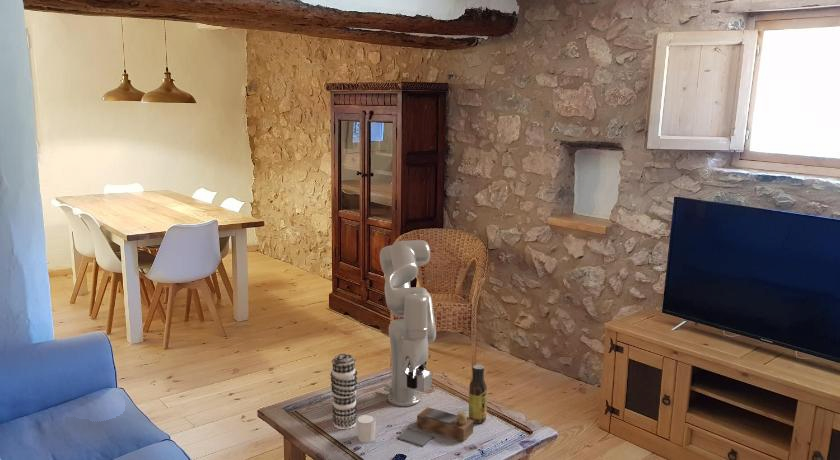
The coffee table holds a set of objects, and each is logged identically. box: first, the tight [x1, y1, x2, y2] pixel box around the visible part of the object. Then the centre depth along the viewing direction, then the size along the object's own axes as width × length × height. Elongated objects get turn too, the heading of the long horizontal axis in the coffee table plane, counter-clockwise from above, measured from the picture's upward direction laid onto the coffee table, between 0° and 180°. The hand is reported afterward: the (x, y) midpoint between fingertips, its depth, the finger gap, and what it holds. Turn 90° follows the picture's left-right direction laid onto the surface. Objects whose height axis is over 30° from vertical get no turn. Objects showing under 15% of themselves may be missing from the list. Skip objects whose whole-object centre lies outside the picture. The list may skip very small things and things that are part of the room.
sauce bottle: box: [468, 364, 488, 424], centre depth 221 cm, size 7×6×20 cm
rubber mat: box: [396, 427, 435, 448], centre depth 211 cm, size 10×7×1 cm
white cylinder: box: [355, 413, 377, 443], centre depth 210 cm, size 7×7×7 cm
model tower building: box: [329, 353, 358, 430], centre depth 218 cm, size 9×9×25 cm
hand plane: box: [416, 406, 474, 442], centre depth 215 cm, size 18×7×8 cm, turn 59°
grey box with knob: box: [400, 368, 433, 393], centre depth 207 cm, size 9×5×6 cm, turn 60°
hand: (416, 383), depth 207 cm, fingers closed on grey box with knob, 5 cm apart
